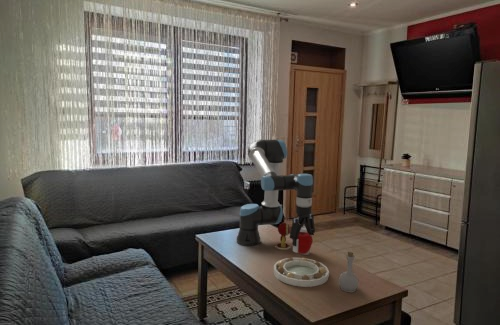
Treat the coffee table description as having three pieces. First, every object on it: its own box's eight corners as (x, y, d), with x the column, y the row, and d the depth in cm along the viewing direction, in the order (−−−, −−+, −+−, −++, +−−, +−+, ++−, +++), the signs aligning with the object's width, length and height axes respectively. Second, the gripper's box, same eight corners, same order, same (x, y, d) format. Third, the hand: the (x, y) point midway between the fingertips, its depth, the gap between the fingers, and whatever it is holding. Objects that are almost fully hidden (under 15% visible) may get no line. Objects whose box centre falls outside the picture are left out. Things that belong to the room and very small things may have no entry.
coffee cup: (311, 250, 207) (312, 225, 205) (313, 256, 198) (314, 230, 196) (295, 249, 208) (296, 224, 206) (296, 255, 199) (297, 229, 197)
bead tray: (262, 272, 175) (263, 264, 174) (297, 258, 193) (297, 251, 193) (305, 292, 155) (305, 283, 155) (339, 275, 174) (339, 267, 173)
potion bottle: (334, 288, 160) (337, 251, 158) (344, 282, 166) (347, 246, 164) (352, 295, 154) (354, 256, 152) (361, 289, 160) (364, 251, 158)
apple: (288, 251, 173) (288, 230, 172) (300, 247, 180) (301, 227, 178) (303, 258, 166) (303, 236, 165) (315, 253, 172) (316, 232, 171)
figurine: (291, 249, 207) (292, 225, 205) (274, 249, 207) (275, 224, 205) (290, 244, 215) (291, 221, 213) (274, 244, 216) (275, 220, 214)
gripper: (295, 210, 160) (293, 257, 162) (323, 203, 175) (321, 246, 177) (282, 207, 165) (281, 252, 168) (311, 200, 180) (309, 242, 183)
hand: (302, 249), depth 173 cm, fingers closed on apple, 10 cm apart
